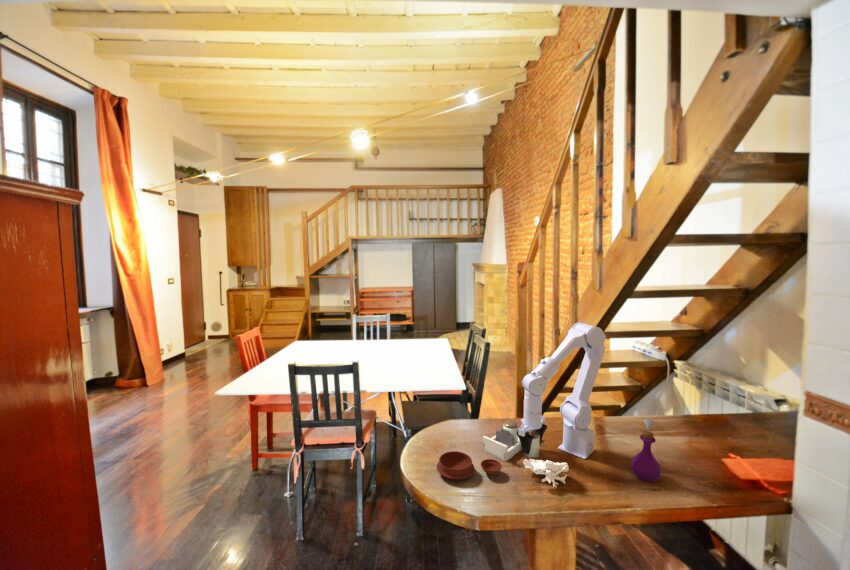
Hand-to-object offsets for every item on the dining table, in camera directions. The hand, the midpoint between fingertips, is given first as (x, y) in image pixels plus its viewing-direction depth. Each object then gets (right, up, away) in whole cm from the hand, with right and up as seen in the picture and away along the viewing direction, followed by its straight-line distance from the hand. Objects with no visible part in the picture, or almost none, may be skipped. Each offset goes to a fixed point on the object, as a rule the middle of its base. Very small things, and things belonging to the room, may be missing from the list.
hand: (531, 448), depth 124 cm
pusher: (-9, 0, +3) cm, 9 cm away
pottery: (-23, -3, -11) cm, 25 cm away
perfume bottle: (+31, -3, -13) cm, 34 cm away
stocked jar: (-6, 0, +5) cm, 8 cm away
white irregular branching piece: (+1, -3, -14) cm, 14 cm away
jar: (0, -2, 0) cm, 2 cm away
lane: (-6, -1, +6) cm, 8 cm away
